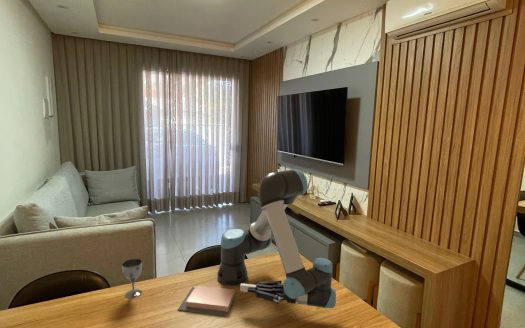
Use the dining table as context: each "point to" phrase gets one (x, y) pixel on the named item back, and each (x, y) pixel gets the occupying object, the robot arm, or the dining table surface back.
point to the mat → (198, 310)
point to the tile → (211, 298)
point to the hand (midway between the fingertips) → (240, 287)
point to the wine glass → (132, 275)
